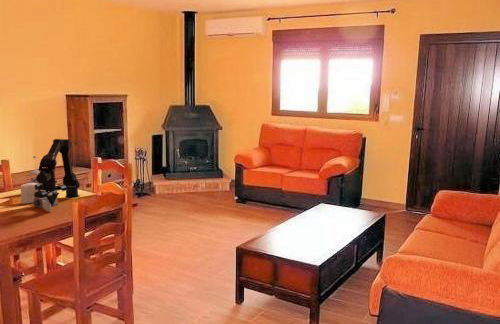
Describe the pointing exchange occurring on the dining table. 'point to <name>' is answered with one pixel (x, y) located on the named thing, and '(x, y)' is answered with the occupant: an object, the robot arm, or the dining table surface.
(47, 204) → the side door
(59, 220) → the dining table surface
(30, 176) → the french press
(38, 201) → the camera body
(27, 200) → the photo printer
